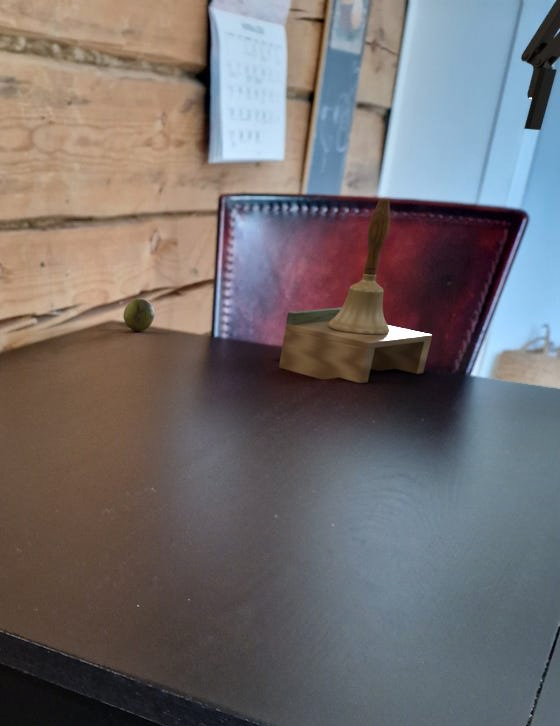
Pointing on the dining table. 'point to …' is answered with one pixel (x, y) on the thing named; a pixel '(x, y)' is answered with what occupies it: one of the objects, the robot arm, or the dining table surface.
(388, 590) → the dining table surface
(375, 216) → the hand bell
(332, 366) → the shelf
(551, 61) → the robot arm
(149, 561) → the dining table surface
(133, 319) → the lime
